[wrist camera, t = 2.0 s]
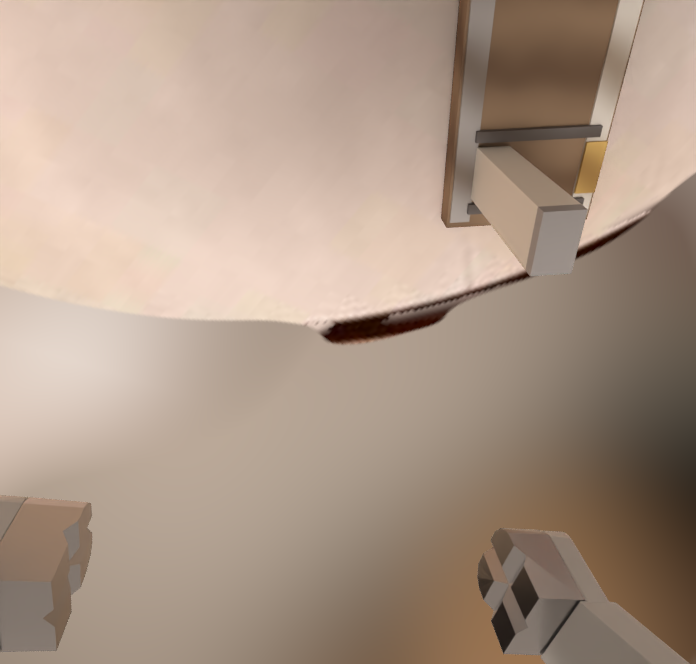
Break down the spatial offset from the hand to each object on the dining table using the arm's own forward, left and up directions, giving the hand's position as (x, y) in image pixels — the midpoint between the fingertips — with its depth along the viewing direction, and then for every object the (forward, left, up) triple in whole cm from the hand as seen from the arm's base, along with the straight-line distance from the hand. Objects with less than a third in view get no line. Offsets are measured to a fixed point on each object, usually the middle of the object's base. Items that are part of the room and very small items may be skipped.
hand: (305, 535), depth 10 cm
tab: (-6, +13, -32) cm, 35 cm away
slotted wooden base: (-14, +11, -34) cm, 39 cm away
